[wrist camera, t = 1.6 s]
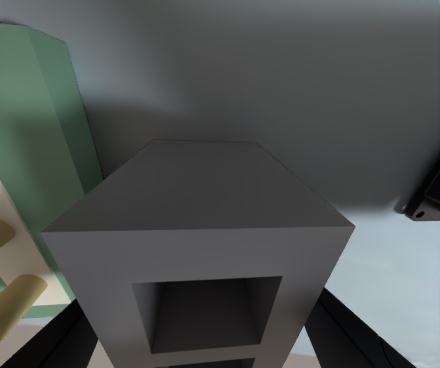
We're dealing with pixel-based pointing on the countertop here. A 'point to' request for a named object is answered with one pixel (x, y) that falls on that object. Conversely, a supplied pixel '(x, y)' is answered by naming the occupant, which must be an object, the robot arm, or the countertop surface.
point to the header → (38, 169)
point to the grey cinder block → (198, 256)
